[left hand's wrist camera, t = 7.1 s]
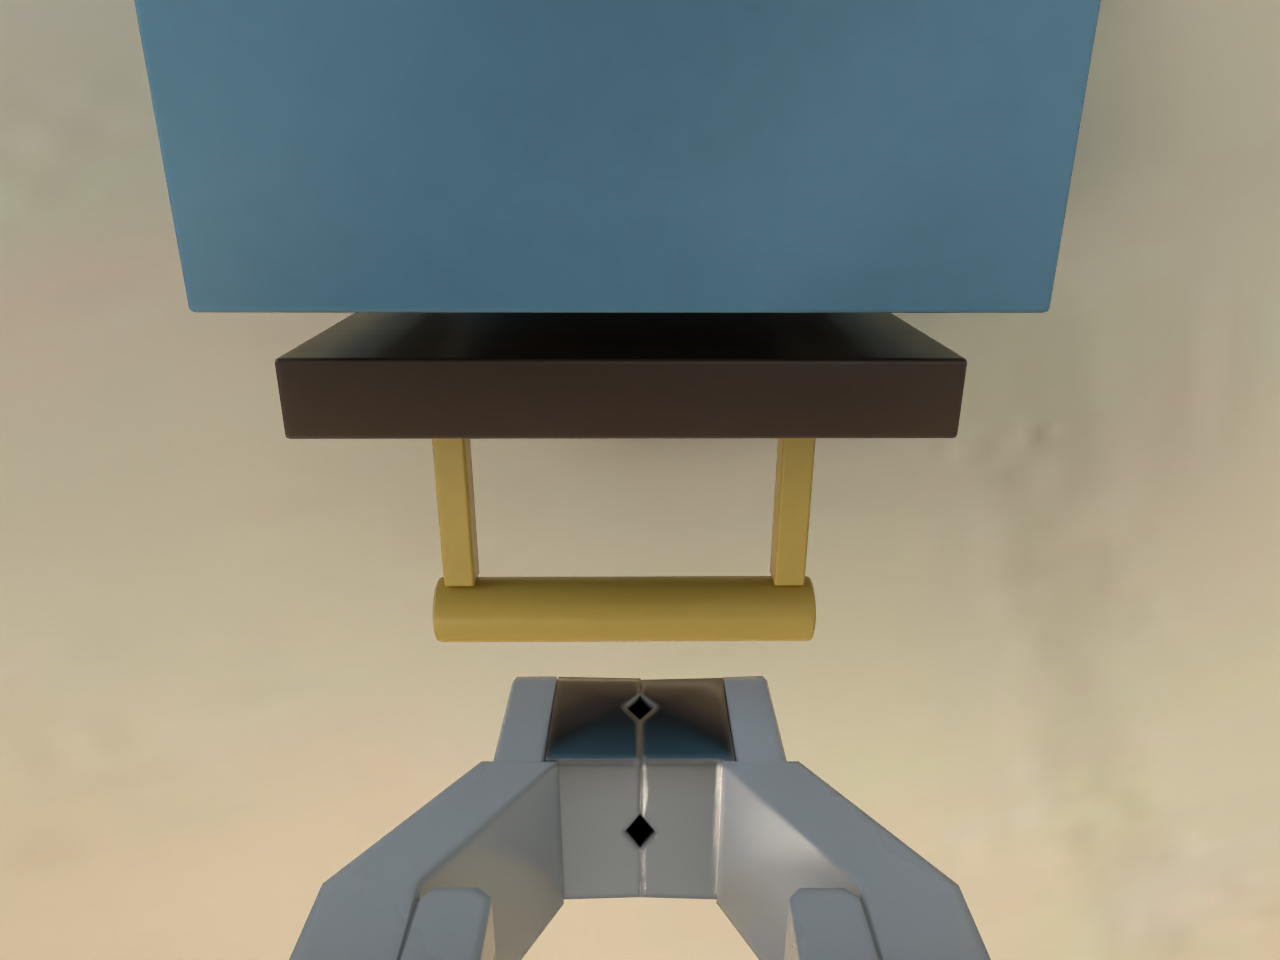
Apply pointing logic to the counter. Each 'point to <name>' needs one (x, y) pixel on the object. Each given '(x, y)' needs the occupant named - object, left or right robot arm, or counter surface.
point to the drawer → (621, 408)
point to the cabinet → (618, 153)
